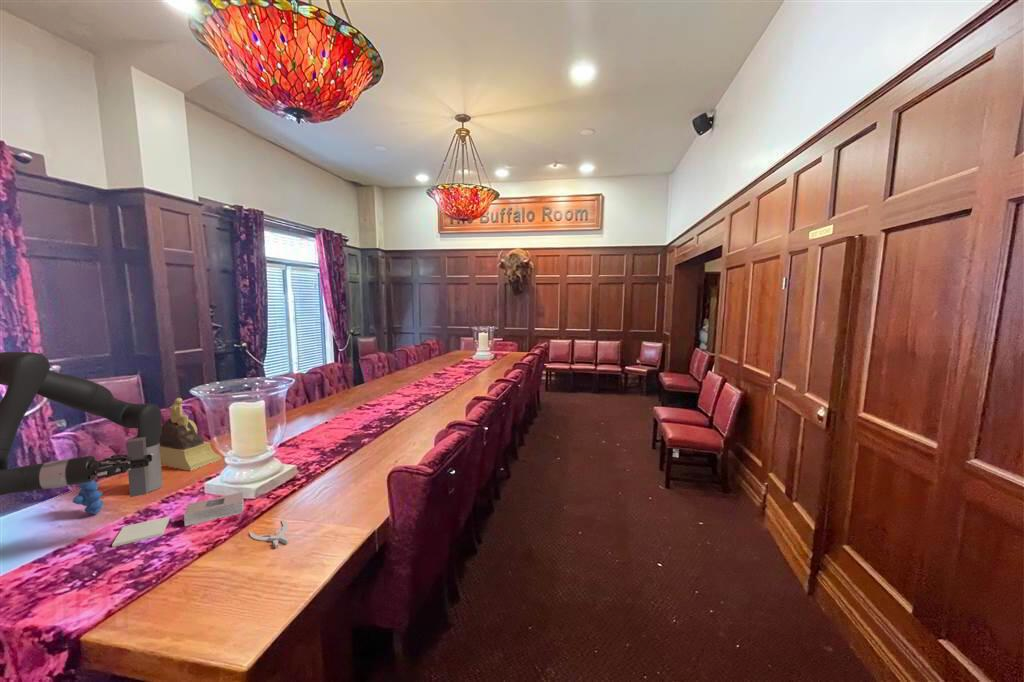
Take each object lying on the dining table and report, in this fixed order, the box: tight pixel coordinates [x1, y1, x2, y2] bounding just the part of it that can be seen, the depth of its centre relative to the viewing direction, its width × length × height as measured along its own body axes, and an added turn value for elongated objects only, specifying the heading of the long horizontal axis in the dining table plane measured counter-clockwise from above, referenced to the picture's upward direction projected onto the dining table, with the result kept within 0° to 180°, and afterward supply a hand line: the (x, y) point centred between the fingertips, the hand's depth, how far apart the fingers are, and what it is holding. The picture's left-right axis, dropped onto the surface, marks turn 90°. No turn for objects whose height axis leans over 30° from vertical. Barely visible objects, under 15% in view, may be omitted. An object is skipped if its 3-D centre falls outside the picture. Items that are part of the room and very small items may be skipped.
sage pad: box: [111, 516, 170, 548], centre depth 119 cm, size 11×11×1 cm
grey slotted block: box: [183, 492, 245, 527], centre depth 130 cm, size 8×15×4 cm, turn 123°
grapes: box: [72, 478, 104, 515], centre depth 129 cm, size 12×7×12 cm, turn 65°
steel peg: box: [125, 437, 149, 498], centre depth 117 cm, size 4×4×17 cm
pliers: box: [248, 519, 290, 550], centre depth 117 cm, size 10×2×15 cm
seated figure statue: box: [160, 397, 222, 472], centre depth 173 cm, size 28×13×30 cm, turn 73°
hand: (149, 459), depth 119 cm, fingers closed on steel peg, 3 cm apart
